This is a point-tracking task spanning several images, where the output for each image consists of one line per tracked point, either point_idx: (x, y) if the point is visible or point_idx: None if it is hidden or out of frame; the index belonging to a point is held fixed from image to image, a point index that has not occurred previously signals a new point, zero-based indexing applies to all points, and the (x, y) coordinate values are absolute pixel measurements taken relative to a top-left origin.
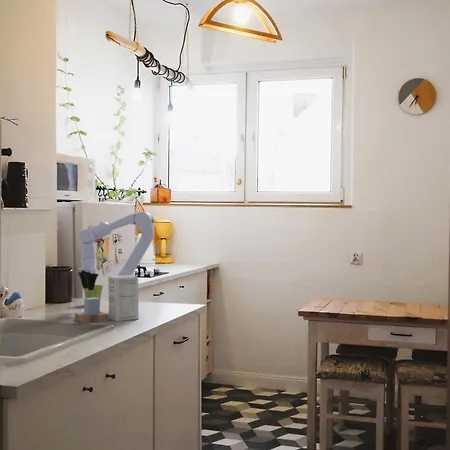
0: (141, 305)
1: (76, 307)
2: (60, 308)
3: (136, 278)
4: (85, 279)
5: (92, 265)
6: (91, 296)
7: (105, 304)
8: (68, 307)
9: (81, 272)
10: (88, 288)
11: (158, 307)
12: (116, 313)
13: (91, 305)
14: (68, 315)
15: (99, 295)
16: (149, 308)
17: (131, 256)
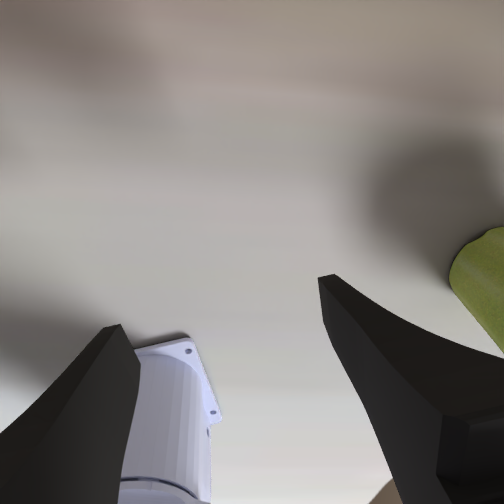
0: (332, 451)
1: (434, 152)
2: (454, 8)
3: None
4: (368, 385)
5: None
6: (494, 287)
7: (456, 324)
8: (469, 89)
9: (491, 464)
10: (93, 340)
11: (246, 495)
12: None
13: None
14: (12, 48)
15: (490, 336)
16: (228, 472)
17: None
